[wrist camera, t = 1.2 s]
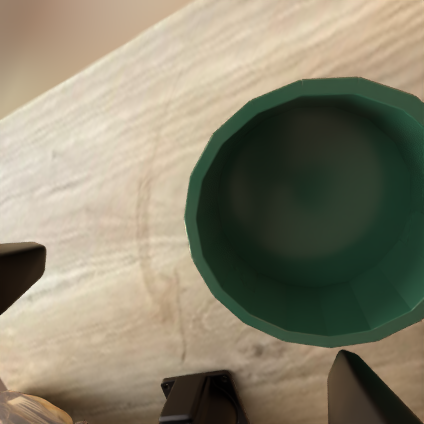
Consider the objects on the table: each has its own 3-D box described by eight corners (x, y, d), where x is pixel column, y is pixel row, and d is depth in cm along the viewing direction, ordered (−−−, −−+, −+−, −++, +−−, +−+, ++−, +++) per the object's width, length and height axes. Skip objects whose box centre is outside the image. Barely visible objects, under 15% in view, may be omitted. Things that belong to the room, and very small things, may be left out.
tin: (442, 267, 19) (510, 322, 13) (243, 307, 23) (231, 363, 17) (392, 58, 17) (447, 18, 11) (183, 141, 21) (146, 142, 15)
